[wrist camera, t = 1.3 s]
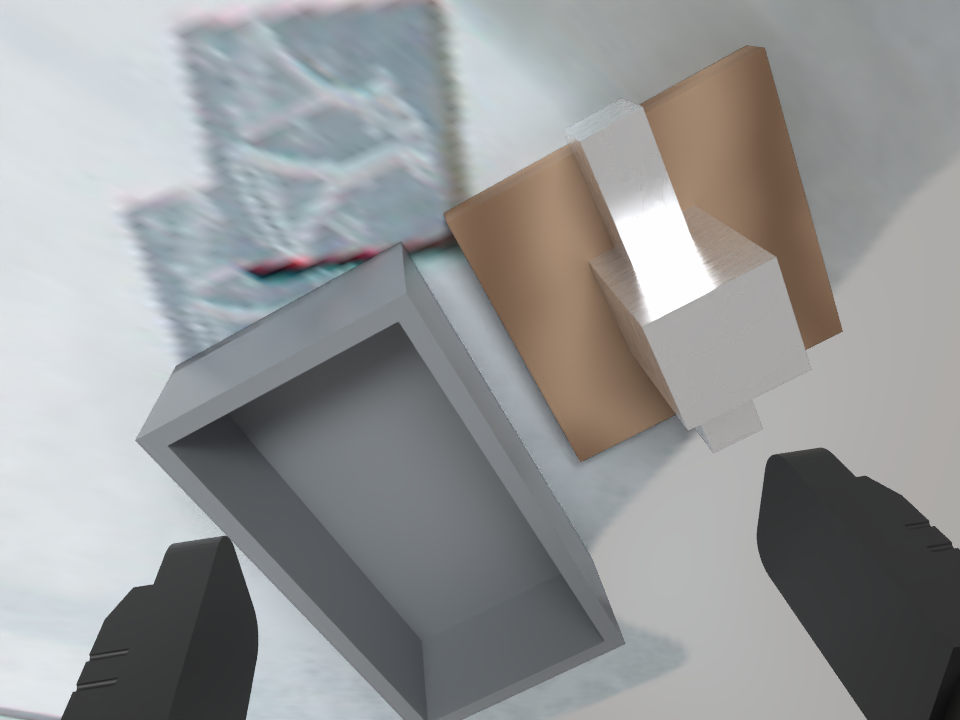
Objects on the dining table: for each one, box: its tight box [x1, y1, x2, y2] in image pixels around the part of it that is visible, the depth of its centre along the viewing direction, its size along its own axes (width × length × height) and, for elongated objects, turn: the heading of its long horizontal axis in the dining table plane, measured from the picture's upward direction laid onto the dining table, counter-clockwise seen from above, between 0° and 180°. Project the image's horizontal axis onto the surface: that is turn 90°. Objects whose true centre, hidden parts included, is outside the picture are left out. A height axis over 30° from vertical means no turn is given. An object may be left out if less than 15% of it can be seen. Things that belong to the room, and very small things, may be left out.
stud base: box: [444, 46, 842, 462], centre depth 29 cm, size 14×14×6 cm
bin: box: [135, 242, 625, 720], centre depth 33 cm, size 22×12×6 cm, turn 27°
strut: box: [563, 98, 811, 453], centre depth 28 cm, size 16×5×7 cm, turn 27°
